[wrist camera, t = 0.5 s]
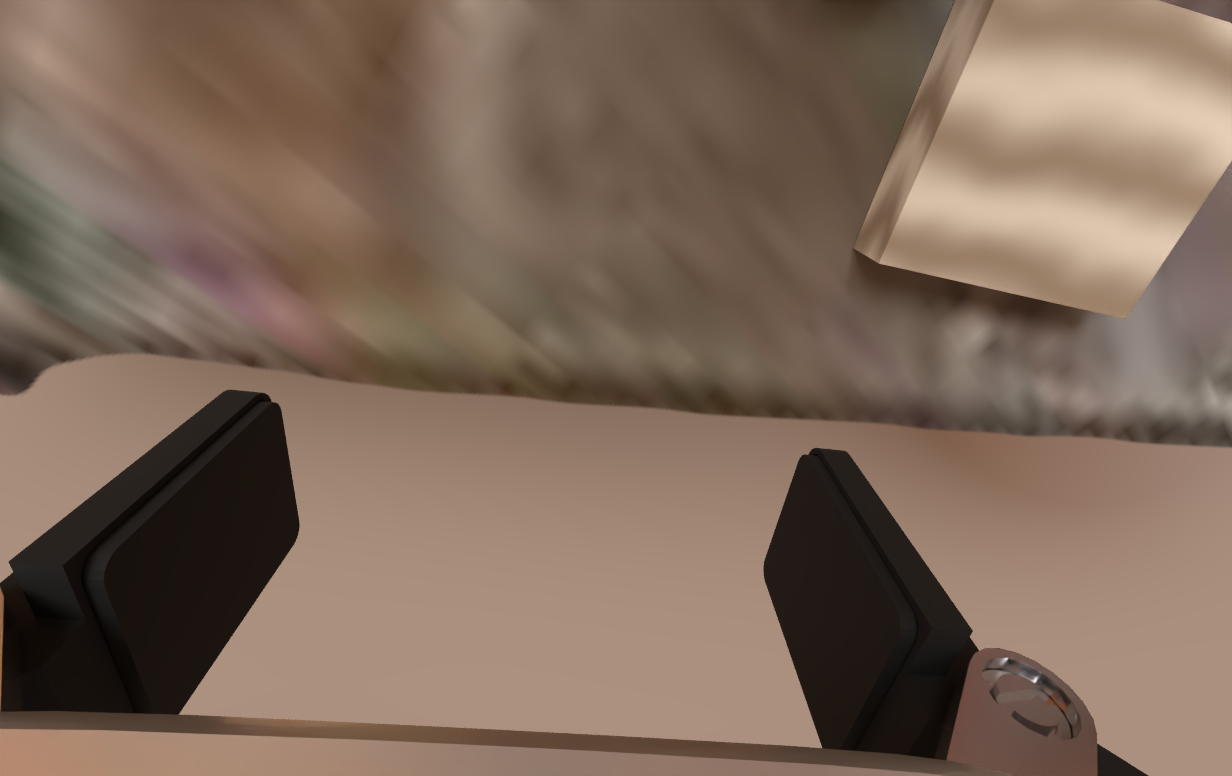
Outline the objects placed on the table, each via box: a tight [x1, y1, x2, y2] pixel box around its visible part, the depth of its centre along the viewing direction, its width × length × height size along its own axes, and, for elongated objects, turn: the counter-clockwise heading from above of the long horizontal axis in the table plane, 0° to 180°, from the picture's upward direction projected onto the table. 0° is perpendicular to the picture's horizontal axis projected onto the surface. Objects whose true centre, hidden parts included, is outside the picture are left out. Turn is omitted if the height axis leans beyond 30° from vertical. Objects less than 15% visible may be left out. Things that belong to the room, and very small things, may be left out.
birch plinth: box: [853, 0, 1232, 319], centre depth 35 cm, size 16×18×4 cm
